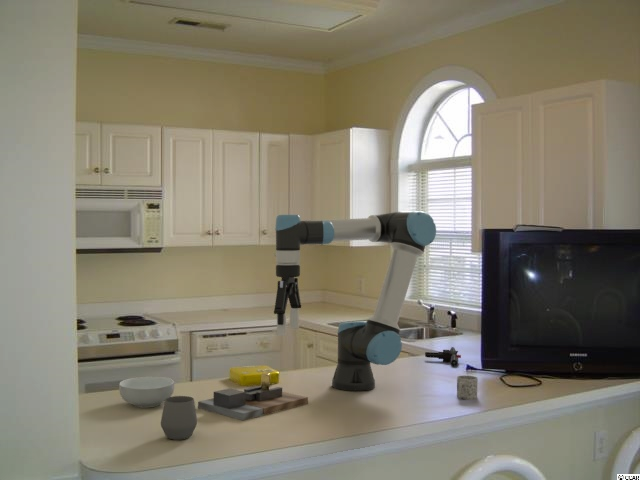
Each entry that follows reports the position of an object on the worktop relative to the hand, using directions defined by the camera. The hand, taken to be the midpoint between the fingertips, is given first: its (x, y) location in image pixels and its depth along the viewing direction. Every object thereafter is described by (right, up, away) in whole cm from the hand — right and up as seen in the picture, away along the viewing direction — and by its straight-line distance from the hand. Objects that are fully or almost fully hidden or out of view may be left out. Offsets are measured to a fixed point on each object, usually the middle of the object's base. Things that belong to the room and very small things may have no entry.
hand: (288, 332), depth 222 cm
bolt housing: (-12, -21, -3) cm, 24 cm away
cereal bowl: (-44, -23, -1) cm, 49 cm away
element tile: (-14, -23, +36) cm, 45 cm away
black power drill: (+62, -24, +81) cm, 105 cm away
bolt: (-9, -21, +1) cm, 23 cm away
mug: (+58, -24, +15) cm, 65 cm away
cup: (-27, -23, -35) cm, 50 cm away
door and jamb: (-11, -23, -2) cm, 26 cm away
